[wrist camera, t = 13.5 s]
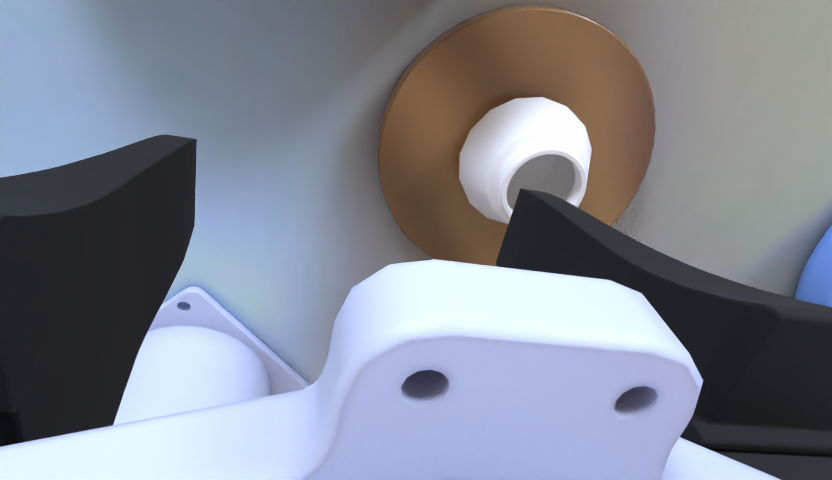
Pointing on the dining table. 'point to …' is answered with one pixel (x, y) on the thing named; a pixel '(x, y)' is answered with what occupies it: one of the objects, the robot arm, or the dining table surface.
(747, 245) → the dining table surface
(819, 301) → the water jug
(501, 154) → the lidless jar
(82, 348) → the robot arm
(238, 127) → the dining table surface
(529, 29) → the trivet
